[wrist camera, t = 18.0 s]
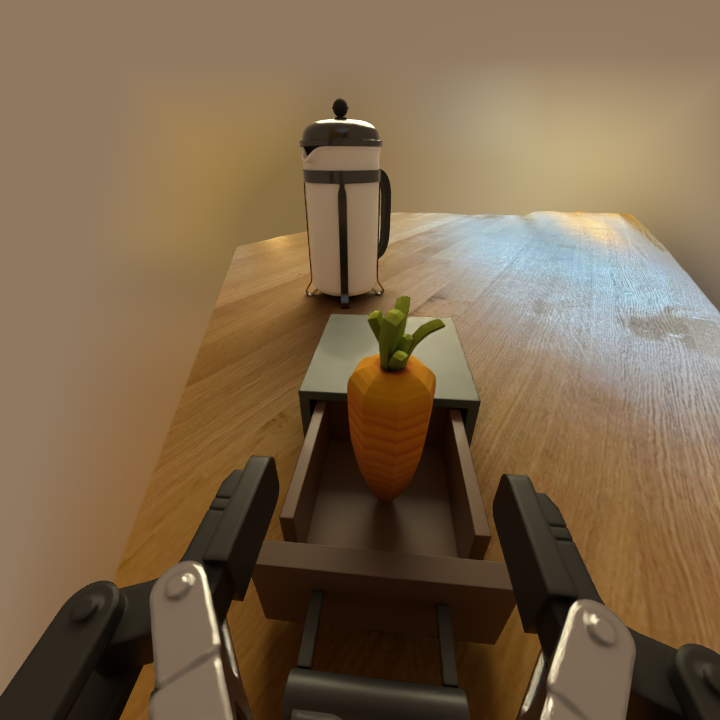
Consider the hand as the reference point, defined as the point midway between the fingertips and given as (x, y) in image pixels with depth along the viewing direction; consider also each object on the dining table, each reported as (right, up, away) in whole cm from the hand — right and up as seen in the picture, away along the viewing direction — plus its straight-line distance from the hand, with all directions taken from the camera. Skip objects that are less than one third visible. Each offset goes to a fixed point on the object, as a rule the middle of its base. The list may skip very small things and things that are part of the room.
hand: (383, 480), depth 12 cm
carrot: (+1, -6, +12) cm, 13 cm away
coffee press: (-3, +18, +54) cm, 56 cm away
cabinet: (+2, -1, +23) cm, 23 cm away
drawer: (+1, -8, +10) cm, 13 cm away
